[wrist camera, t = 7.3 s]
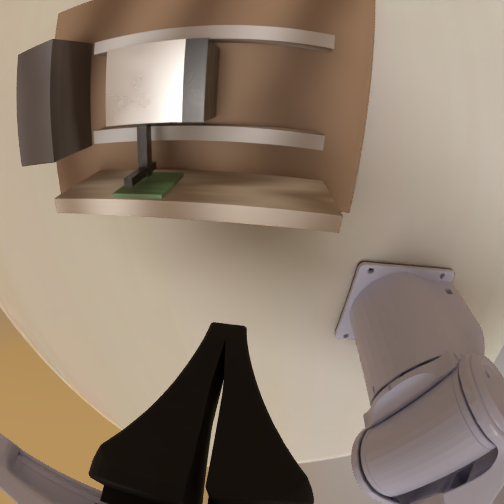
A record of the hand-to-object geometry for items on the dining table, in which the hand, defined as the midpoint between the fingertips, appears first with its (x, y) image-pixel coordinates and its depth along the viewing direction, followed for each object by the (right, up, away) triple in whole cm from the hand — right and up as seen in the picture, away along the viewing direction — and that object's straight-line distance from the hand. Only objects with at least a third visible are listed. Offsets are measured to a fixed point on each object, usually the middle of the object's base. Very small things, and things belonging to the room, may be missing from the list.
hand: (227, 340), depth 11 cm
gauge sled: (-3, +12, +2) cm, 12 cm away
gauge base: (-2, +13, +3) cm, 14 cm away
